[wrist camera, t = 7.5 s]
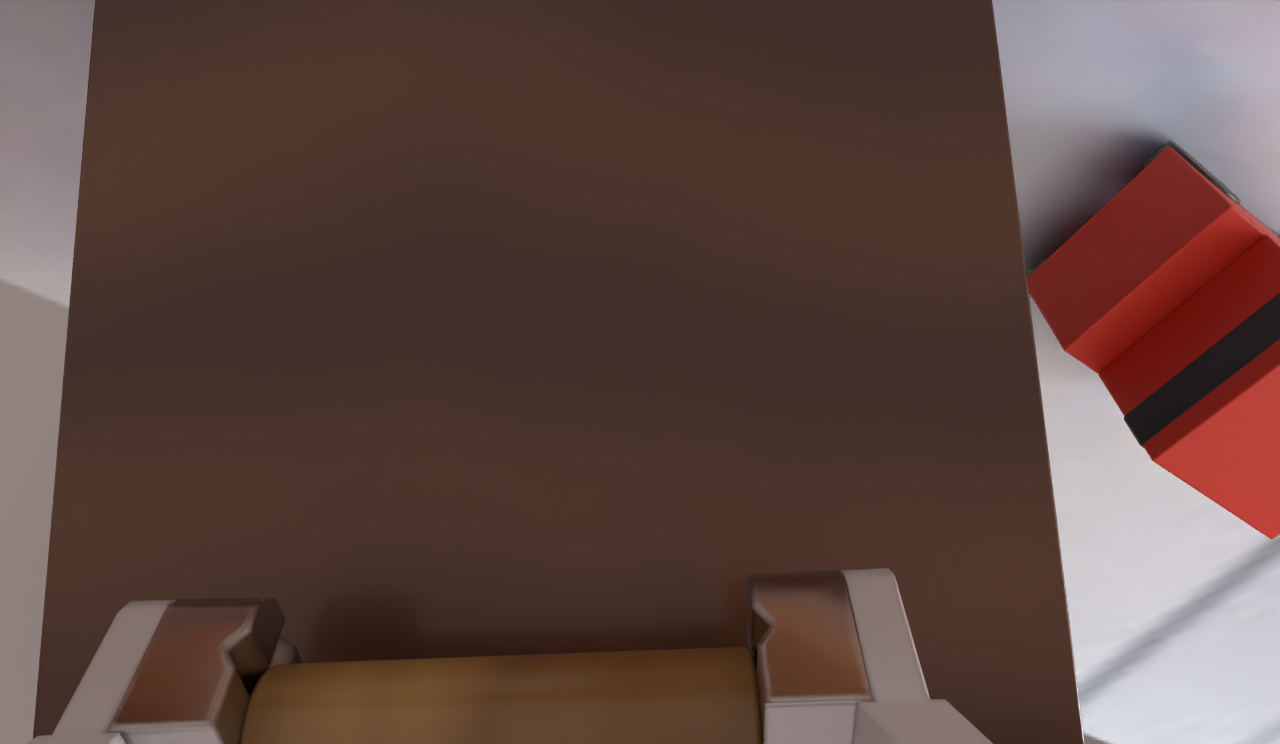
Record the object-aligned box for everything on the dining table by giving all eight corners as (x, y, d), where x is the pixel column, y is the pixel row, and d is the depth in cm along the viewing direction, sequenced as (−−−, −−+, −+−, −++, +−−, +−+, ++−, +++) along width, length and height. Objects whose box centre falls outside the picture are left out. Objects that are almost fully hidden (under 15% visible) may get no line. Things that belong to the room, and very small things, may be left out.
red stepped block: (1005, 262, 29) (1111, 439, 23) (1151, 123, 27) (1316, 277, 20) (1180, 386, 32) (1318, 575, 25) (1327, 270, 29) (1522, 448, 23)
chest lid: (1077, 863, 13) (1275, 1001, 9) (55, 892, 13) (-241, 1041, 9) (961, -101, 16) (1066, -354, 12) (127, -52, 16) (-69, -278, 12)
